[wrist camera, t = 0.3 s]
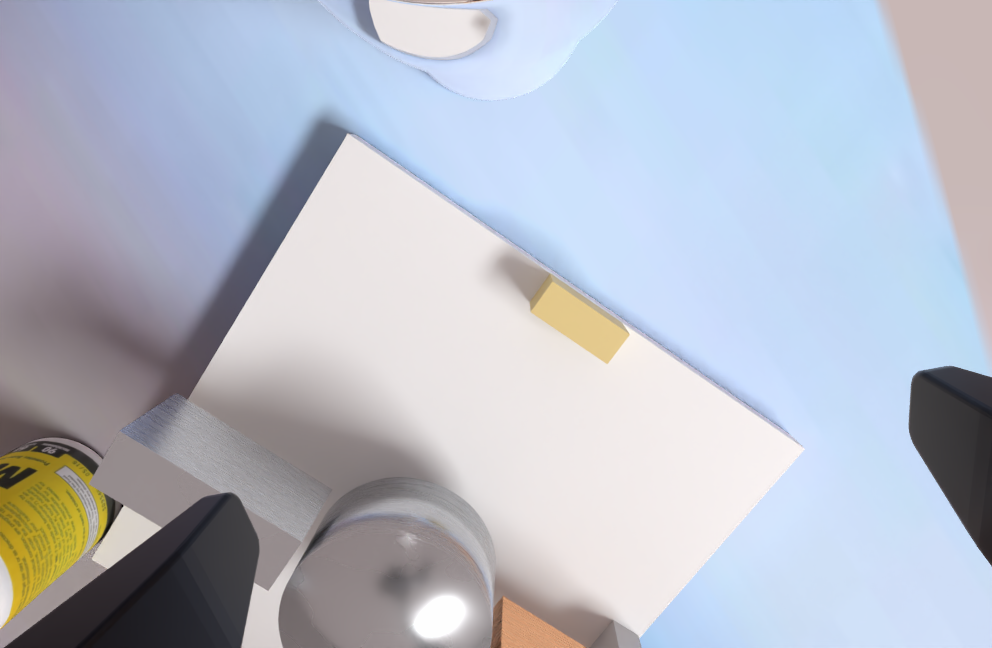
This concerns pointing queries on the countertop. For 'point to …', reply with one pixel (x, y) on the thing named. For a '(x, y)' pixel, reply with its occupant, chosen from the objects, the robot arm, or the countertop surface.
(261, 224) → the countertop surface
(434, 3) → the beer glass
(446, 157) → the countertop surface
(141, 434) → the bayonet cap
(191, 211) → the countertop surface
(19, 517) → the supplement bottle
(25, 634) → the robot arm
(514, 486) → the coupling board
